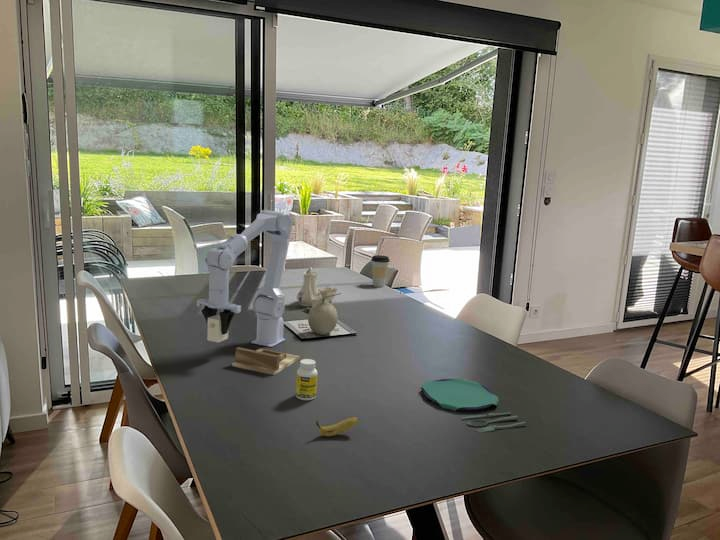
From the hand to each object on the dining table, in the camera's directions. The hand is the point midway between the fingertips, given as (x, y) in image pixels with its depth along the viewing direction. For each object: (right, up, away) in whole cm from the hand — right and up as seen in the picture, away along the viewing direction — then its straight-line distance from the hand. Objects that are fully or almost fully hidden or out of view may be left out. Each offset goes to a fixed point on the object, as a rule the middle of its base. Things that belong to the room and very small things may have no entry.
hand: (218, 332), depth 178 cm
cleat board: (+15, -9, 0) cm, 17 cm away
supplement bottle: (+29, -15, -24) cm, 40 cm away
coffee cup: (+53, +11, +120) cm, 132 cm away
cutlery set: (+72, -18, -22) cm, 77 cm away
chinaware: (+24, +4, +74) cm, 78 cm away
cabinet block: (0, -2, 0) cm, 2 cm away
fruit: (+29, -4, +32) cm, 44 cm away
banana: (+38, -19, -44) cm, 61 cm away
